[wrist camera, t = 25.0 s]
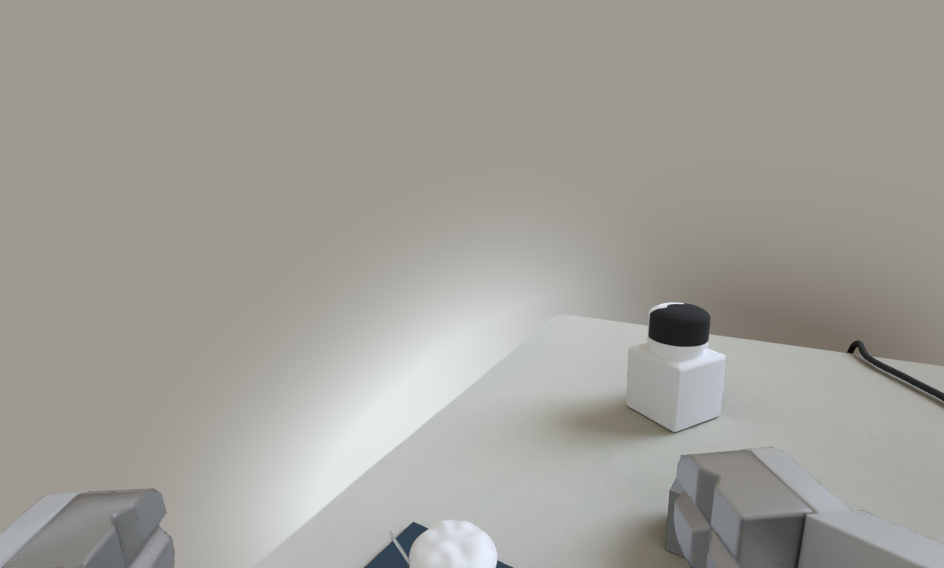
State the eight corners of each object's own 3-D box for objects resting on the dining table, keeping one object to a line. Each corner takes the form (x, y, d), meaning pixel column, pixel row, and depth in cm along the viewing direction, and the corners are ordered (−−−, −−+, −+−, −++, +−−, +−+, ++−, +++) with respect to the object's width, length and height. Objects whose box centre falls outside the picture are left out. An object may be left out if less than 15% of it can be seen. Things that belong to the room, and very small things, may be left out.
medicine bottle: (721, 416, 56) (732, 310, 53) (674, 434, 53) (682, 322, 50) (669, 391, 63) (676, 294, 60) (624, 405, 59) (629, 304, 56)
